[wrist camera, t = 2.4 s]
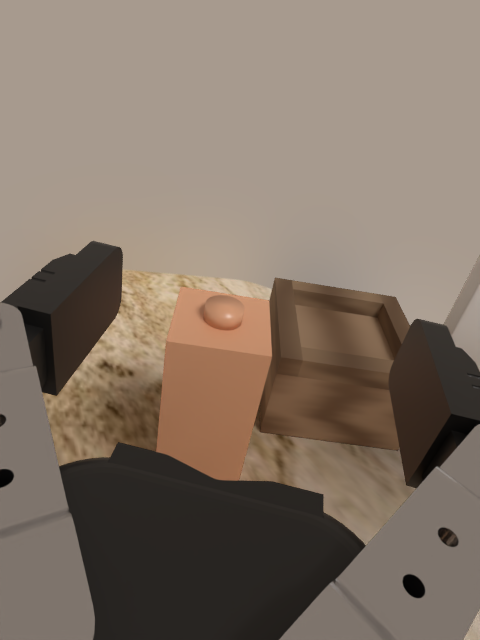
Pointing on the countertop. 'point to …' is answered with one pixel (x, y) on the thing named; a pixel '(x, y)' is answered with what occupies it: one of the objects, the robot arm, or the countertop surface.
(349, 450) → the countertop surface
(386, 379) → the wooden box
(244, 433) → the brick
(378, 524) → the countertop surface
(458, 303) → the milk carton
